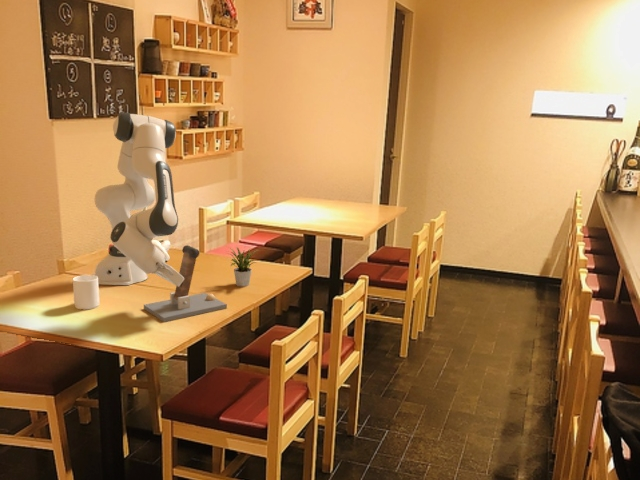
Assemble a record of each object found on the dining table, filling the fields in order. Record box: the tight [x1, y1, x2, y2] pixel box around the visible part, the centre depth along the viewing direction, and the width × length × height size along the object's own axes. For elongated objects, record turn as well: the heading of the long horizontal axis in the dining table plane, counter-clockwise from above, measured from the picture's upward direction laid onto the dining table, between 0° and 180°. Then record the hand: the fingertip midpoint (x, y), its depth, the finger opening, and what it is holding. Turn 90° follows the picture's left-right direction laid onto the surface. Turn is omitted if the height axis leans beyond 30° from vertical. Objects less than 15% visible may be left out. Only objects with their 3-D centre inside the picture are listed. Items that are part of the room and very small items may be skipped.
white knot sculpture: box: [152, 239, 171, 262], centre depth 274 cm, size 11×12×9 cm
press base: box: [143, 291, 228, 323], centre depth 211 cm, size 24×16×6 cm, turn 129°
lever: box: [174, 244, 200, 301], centre depth 209 cm, size 3×6×19 cm, turn 39°
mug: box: [72, 274, 100, 311], centre depth 212 cm, size 12×8×10 cm
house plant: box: [225, 245, 260, 287], centre depth 239 cm, size 14×14×16 cm
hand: (178, 284), depth 208 cm, fingers closed, pressing on lever
